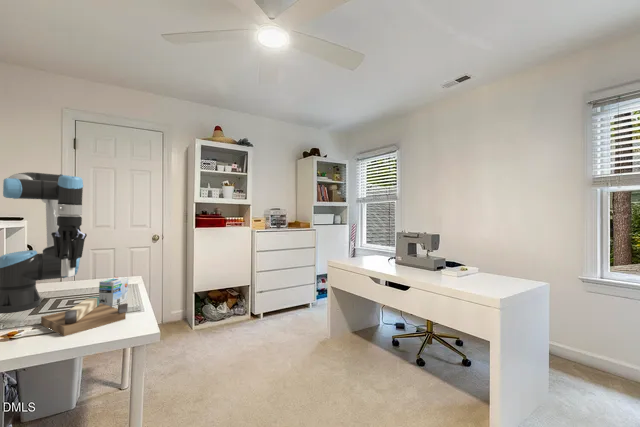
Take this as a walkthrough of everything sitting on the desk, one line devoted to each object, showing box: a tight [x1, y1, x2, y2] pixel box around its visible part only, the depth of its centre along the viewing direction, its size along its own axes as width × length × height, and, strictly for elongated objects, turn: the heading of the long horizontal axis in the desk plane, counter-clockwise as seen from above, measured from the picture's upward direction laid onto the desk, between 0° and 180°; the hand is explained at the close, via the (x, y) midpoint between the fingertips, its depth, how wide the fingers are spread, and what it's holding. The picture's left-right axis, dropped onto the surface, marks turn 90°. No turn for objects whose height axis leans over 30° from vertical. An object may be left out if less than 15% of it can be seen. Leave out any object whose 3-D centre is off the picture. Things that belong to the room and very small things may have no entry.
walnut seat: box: [40, 302, 128, 337], centre depth 117 cm, size 18×20×6 cm
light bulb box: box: [98, 276, 129, 307], centre depth 141 cm, size 11×7×11 cm, turn 179°
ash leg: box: [64, 296, 99, 324], centre depth 117 cm, size 21×4×4 cm, turn 16°
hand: (67, 275), depth 121 cm, fingers open, 2 cm apart
